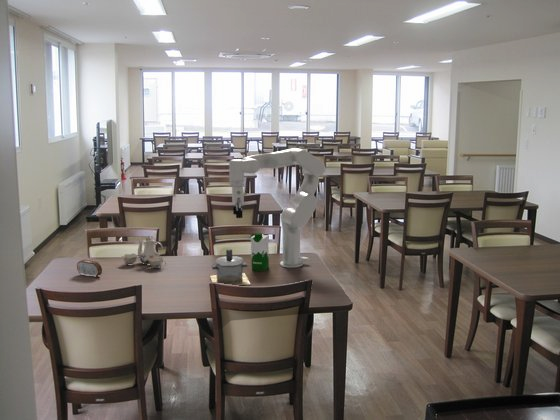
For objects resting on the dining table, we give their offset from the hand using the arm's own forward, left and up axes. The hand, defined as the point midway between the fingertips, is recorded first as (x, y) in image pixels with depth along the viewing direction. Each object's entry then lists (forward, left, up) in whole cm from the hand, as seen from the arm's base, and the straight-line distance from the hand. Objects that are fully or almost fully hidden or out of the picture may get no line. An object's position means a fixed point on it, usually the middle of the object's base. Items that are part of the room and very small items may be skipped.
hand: (237, 216), depth 301 cm
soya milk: (-12, -3, -31) cm, 33 cm away
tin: (+77, -13, -31) cm, 84 cm away
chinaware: (+48, -27, -31) cm, 63 cm away
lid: (+7, +14, -20) cm, 26 cm away
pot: (+7, +14, -30) cm, 34 cm away
